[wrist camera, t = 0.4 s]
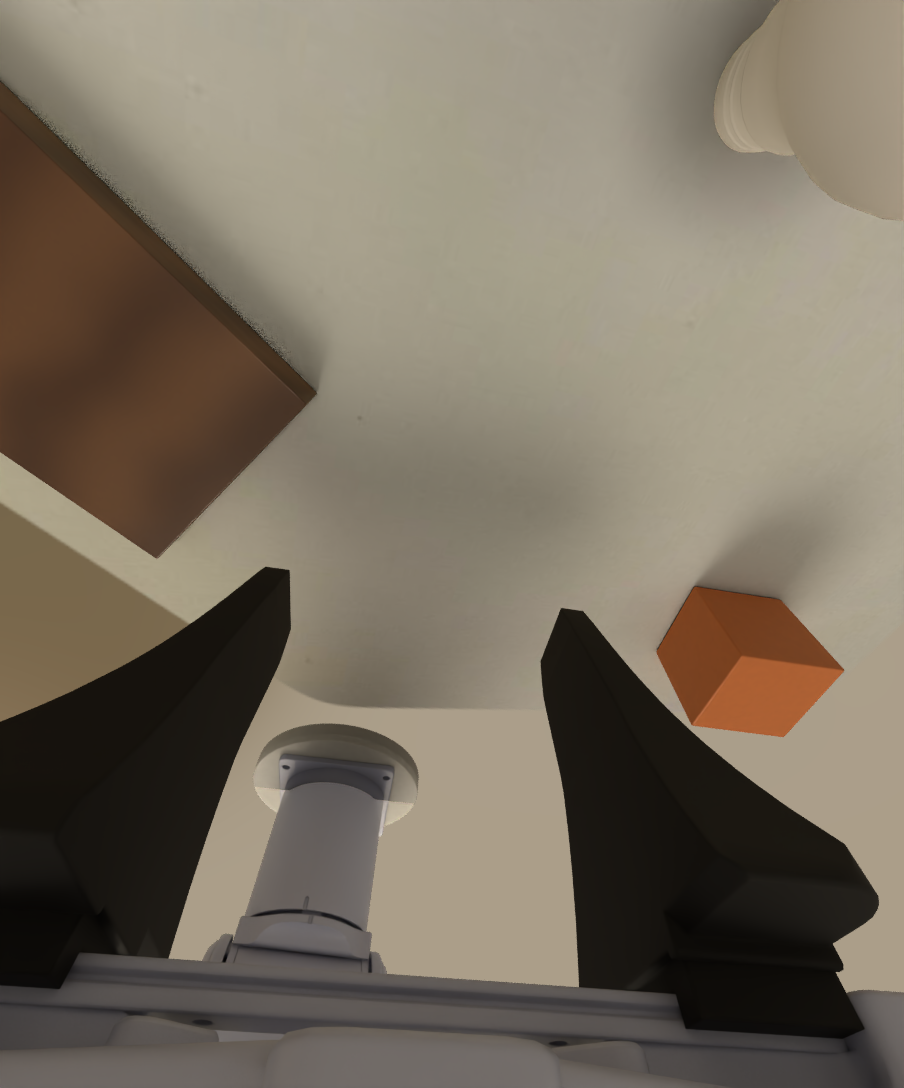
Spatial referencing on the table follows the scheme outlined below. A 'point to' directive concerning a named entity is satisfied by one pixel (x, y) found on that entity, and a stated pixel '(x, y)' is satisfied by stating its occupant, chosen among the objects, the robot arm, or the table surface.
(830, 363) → the table surface
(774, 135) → the lightbulb
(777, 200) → the table surface
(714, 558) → the table surface
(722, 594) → the block
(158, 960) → the robot arm
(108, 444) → the board
